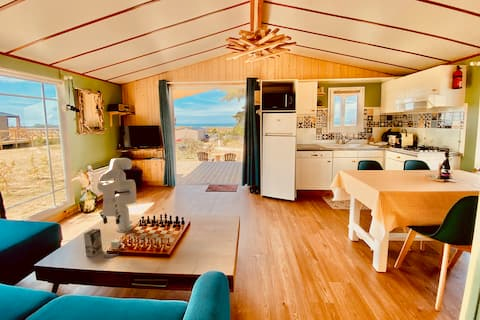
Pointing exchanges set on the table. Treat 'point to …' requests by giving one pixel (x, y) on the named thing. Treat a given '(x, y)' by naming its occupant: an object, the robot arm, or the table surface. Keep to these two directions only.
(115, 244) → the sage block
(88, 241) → the coffee box
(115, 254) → the grey round disc
